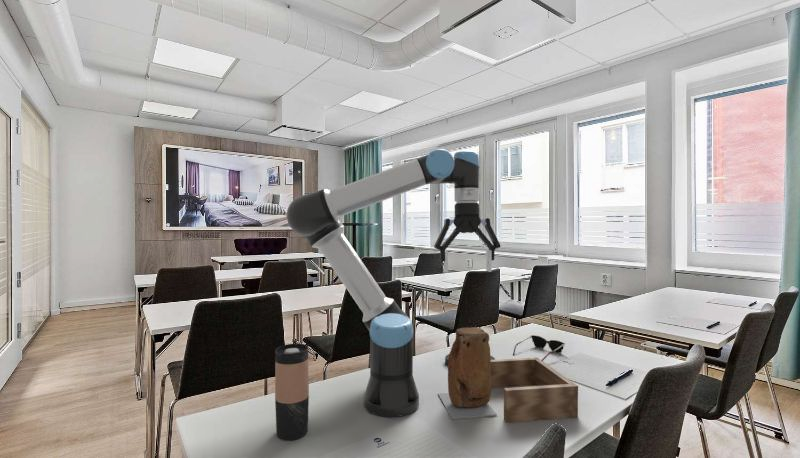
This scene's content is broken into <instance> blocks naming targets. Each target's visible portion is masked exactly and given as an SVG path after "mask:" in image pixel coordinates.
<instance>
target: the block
mask: <svg viewBox="0 0 800 458" xmlns="http://www.w3.org/2000/svg"><path fill="white" fill-rule="evenodd" d="M489 341H490V335H489V333H488V332H486V331H485V330H484V329H483V328H480V327H475V326H474V327H473V326H472V327H461V328H457V329H456V330H455V339H454V341H453V343H452V345H451V349H450V352H449V353H448V354H449V359H448V365H447V388H448V391H447V392H448V393H449V397H450V399H451V403H452V404H453V405H455V406H456V407H477V406H482V405H485V404H487V403H488V404H489V402H490V400H491V391H492V388H491V374H490V371H491V357H490V355H491V348H490V347H491V346H490V343H489Z"/></svg>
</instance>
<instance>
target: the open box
mask: <svg viewBox="0 0 800 458" xmlns="http://www.w3.org/2000/svg"><path fill="white" fill-rule="evenodd" d="M490 374H491V389H499V388H502V389H503V421H504V422H505V423H506V424H507V423H517V422H519V423H521V422H531V421H544V420H556V419H557V420H560V419H569V418H571V419H572V418H579V385H578V384H576V383H574V382H573V381H572V380H570V379H569V378H567V377H566V375H565V376H564V375H563V374H562V373H560V372H559V371H557V370H556V369H554V368H553V367H551V366H550V365H548V364H547V363H546V362H545V361H544V360H543V361H542V359H541V358H539V357H523V358H521V357H519V358H505V359H504V358H501V359H495V360H491V371H490Z"/></svg>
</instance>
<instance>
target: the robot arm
mask: <svg viewBox="0 0 800 458" xmlns="http://www.w3.org/2000/svg"><path fill="white" fill-rule="evenodd" d="M479 158H480V157H479V154H478V153H477V152H476V151H472V150H463V151H456V152H455V153H454V155H453V154H452V153H451V152H450V151H449V150H447V149H444V148H437V149H434V150H432V151H430V153H428V154H425V155H423V156H421V157H418V158H415V159H413V160H410V161H407V162H405V163H401V164H399V165H396V166H393V167H391V168H390V167H389V168H387V169H385V170H382V171H380V172H377V173H375V174H372V175H369V176H366V177H364V178H361V179H358V180H356V181H353V182H350V183H347V184H344V185H342V186H339V187H336V188H333V189H331V190H330V189H327V188H323V189H320V190H317V191H315V192H310V193H308V194H303V195H301V196H298V197H296V198H294V199H293V200H292V201H291V202H290V203H289V204H288V208H287V211H286V221H287V224H288V225H289V227H290V228H291V229H292V231H293V232H295V233H296V234H297V235H300V236H304V238H305V239H306V241H307V242H308V244H309V245H310V246H311V248H314V249H317V250H319V252H321V253H322V255H323V256H324V258H325V260H326V261H327V262H328V263H329V265H330V267H331V268H332V269H333V272H335V275H337V278H339V280H340V282H341V283H342V284H343V285H344V287H345V289H346V290H347V291H348V293H349V294H350V296H351V297H352V299H353V300H354V302H355V303H356V305H357V306H358V308H359V310H361V312H362V314H363V315H362V322H363V324H364V325H365V327H366V328H367V330H368V331H369V337H370V340H369V341H370V343H369V344H370V346H369V351H370V352H369V353H370V354H369V356H370V358H369V359H370V361H369V365H370V366H369V369H370V371H369V373H370V374H369V375H370V376H369V379H368V383H367V385H366V388H365V392H364V395H363V407H364V409H365V410H366V411H367V412H369V413H370V414H373V415H375V416H378V417H386V418H392V417H393V418H394V417H396V418H397V417H403V416H406V415H410V414H412V413H413V412H415V411H416V410H417V409H418V408H419V406H420V395H419V392H418V388H417V385H416V381H415V378H414V375H413V373H414V372H413V371H414V369H413V368H414V367H413V366H414V364H413V363H414V362H413V361H414V356H413V354H414V352H413V351H414V350H413V349H414V348H413V347H414V345H413V341H414V340H413V339H414V337H413V336H414V327H413V322H412V320H411V319H410V318H409V316H408V315H407V314H406V312H404V310H402V309H401V308H400V306H399V305H398V304H397V302H396V301H395V299H394V298H391V297H387V296H386V294H385V293H384V291H383V290H382V288H381V287H380V285H379V284H378V282H377V281H376V280H375V279H374V277H373V275H372V274H371V273H370V271H369V269H368V268H367V267H366V265H365V264H364V262H363V261H362V259H361V258H360V256H359V255H358V253H357V252H356V250H355V249H354V247H353V246H352V244H351V243H350V241H349V240H348V239H347V237H346V236H345V234H344V229H345V225H344V224H343V222H342V221H341V220H340V218H341V217H343V216H346V215H349V214H351V213H354V212H356V211H360V210H361V209H365V208H367V207H371V206H373V205H375V204H378V203H381V202H384V201H386V200H389V199H391V198H394V197H398V196H399V195H401V194H402V195H403V194H404V193H407V192H410V191H414V190H415V189H416V190H417V188H420V187H423V186H426V185H431V184H432V185H433V184H438V185H439V184H453V185H454V187H453V188H454V202H455V204H454V218H453V219H450V218H445V219H444V222H443V227H442V229H441V231H440V233H439V235H438V237H437V240H436V241H435V244H434V246H433V248H434V249H436V250H439V261H440V262H443V272H444V273H446V274H448V273H449V261H448V260H449V251H447V248H449V246H450V245H451V244H452V243H453V241H454V240H455V238H456V237H457V236H458V235H459V234H460V233H461V234H473V233H474V234H475V235H477V236H478V238H479V239H480V240H481V241H482V242H483V244H484V245H485V246H486V247H487V249H486V250H485V251H486V252H485V254H486V255H485V256H486V261H485V262H486V263H485V265H486V266H485V267H486V272H489V273H490V272H492V271H493V269H492V268H493V267H492V261H495V251H496V249H499V248H501V243H500V241H499V239H498V238H497V236H496V233H495V231H494V229H493V227H492V226H491V219H490V218H489V217H485V218H481V217H480V204H479V203H478V202H479V201H480V183H479V182H480V160H479ZM481 224H482V225H483V226H484V228H485V230H486V232H487V235H488V236H489V238H490V240H489V238H487V236H486V235H485V233H483V232H482V230H481V229H480V227H479V226H480V225H481ZM452 225H454V226H455V228H454V229H453V230H452V233H450V235H449V236H448V237H447V239H446V240H445V241H444V238H445V237H446V235H447V233H448V230H449V229H450V227H451V226H452ZM443 241H444V242H443Z"/></svg>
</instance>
